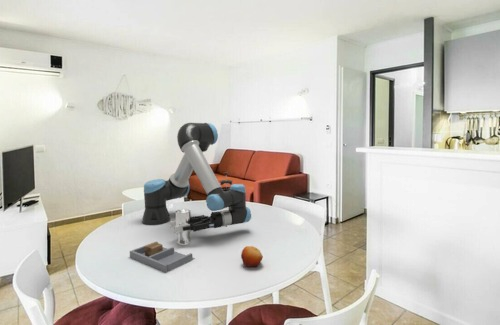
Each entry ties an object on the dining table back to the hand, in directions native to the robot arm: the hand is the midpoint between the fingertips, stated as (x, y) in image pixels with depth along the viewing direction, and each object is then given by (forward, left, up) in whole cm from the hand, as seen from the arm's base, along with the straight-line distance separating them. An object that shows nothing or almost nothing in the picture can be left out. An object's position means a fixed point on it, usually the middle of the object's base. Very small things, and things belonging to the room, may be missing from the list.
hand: (172, 227), depth 128 cm
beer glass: (+2, +4, -9) cm, 10 cm away
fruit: (+40, +4, -9) cm, 41 cm away
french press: (-28, +68, -9) cm, 74 cm away
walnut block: (+2, -12, -8) cm, 14 cm away
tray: (+8, -12, -8) cm, 16 cm away
